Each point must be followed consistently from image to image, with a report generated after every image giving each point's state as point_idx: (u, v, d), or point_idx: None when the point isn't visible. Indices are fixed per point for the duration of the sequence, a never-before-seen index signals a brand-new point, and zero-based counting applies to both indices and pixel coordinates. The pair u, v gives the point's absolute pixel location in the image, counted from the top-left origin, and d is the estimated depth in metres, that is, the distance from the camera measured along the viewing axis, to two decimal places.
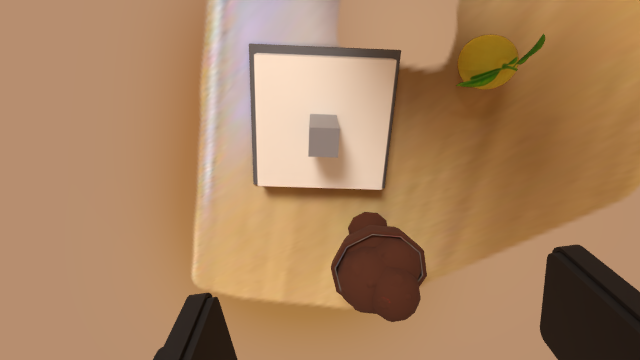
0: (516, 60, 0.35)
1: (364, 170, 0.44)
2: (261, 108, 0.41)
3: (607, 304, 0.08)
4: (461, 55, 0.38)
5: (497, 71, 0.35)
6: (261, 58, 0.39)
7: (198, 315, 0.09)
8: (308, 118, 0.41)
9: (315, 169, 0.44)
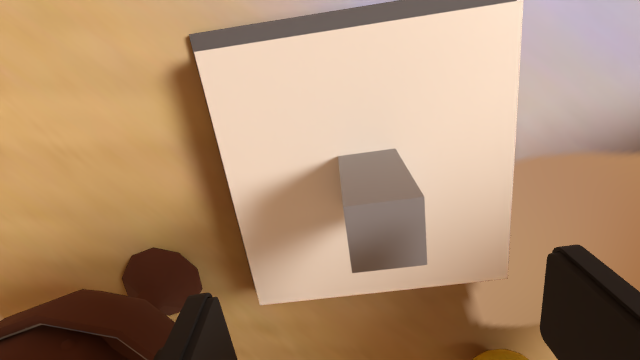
0: None
1: (292, 270, 0.22)
2: (394, 35, 0.17)
3: (607, 304, 0.08)
4: None
5: None
6: (514, 20, 0.17)
7: (198, 315, 0.09)
8: (384, 147, 0.19)
9: (270, 179, 0.20)
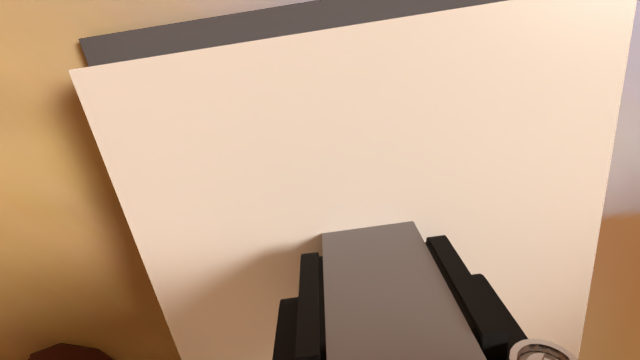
0: None
1: None
2: (416, 40, 0.10)
3: None
4: None
5: None
6: (620, 15, 0.10)
7: (318, 269, 0.10)
8: (396, 219, 0.12)
9: (216, 269, 0.12)
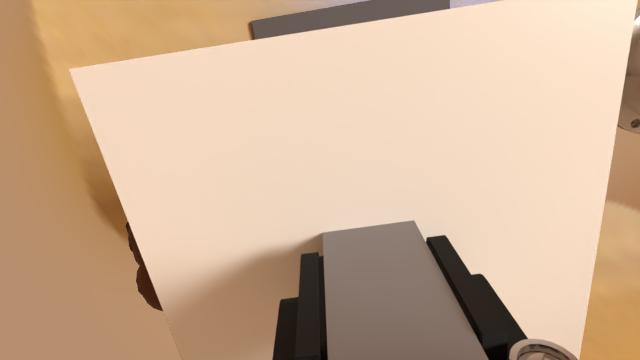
0: None
1: None
2: (416, 39, 0.10)
3: None
4: None
5: None
6: (621, 14, 0.10)
7: (318, 269, 0.10)
8: (397, 218, 0.12)
9: (216, 268, 0.12)
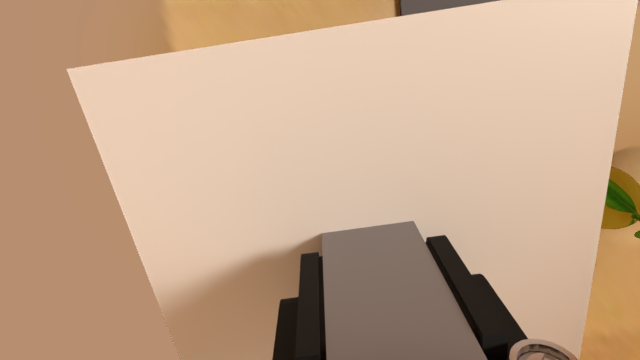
0: (628, 225, 0.31)
1: None
2: (416, 39, 0.10)
3: None
4: None
5: (633, 210, 0.29)
6: (622, 14, 0.10)
7: (318, 269, 0.10)
8: (396, 219, 0.12)
9: (215, 269, 0.12)
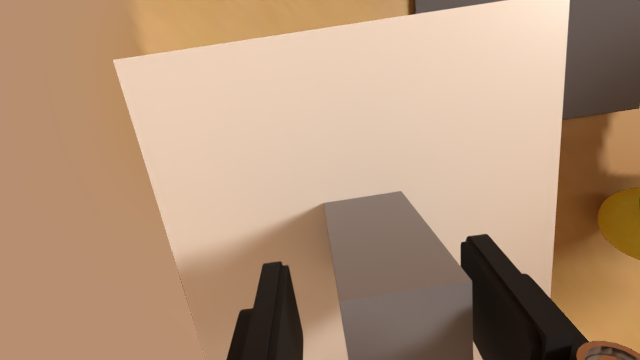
0: None
1: None
2: (399, 36, 0.12)
3: (493, 284, 0.09)
4: None
5: None
6: (558, 18, 0.12)
7: (277, 279, 0.10)
8: (386, 189, 0.14)
9: (230, 237, 0.14)
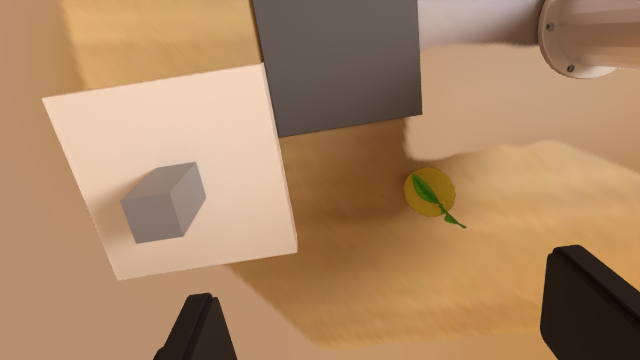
0: (442, 213, 0.40)
1: (137, 252, 0.30)
2: (180, 86, 0.25)
3: (607, 304, 0.08)
4: (431, 168, 0.42)
5: (437, 201, 0.38)
6: (257, 76, 0.25)
7: (198, 315, 0.09)
8: (188, 160, 0.27)
9: (110, 185, 0.27)
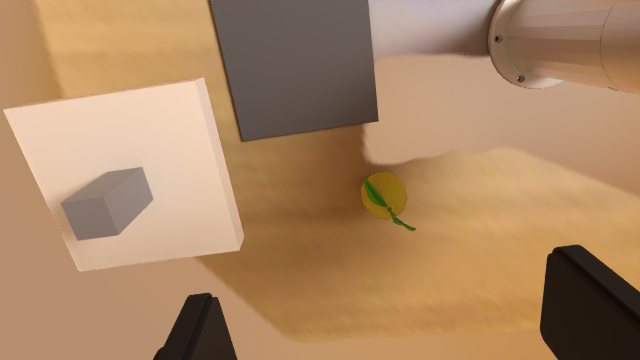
0: None
1: (95, 246, 0.33)
2: (123, 100, 0.28)
3: (607, 304, 0.08)
4: (385, 173, 0.44)
5: (385, 205, 0.41)
6: (192, 91, 0.28)
7: (198, 315, 0.09)
8: (135, 166, 0.30)
9: (67, 187, 0.31)
